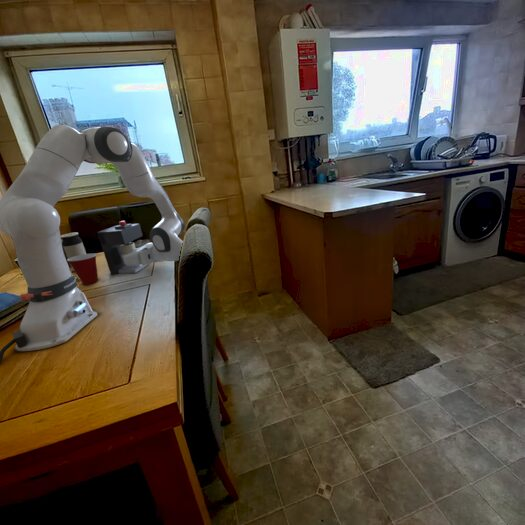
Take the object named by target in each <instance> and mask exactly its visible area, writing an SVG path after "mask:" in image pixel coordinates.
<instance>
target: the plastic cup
mask: <svg viewBox="0 0 525 525" xmlns="http://www.w3.org/2000/svg"><path fill="white" fill-rule="evenodd" d="M97 254H98V253H86V254H84V255H79V256H75V257H71V258H69V259H67V261H69V263H70V264H71V266H72V267H73V269H74V270H75V271H74V272H75V274H76V276H77V277H78V279H79V280H80V282H81V283H82V284H83V285H84V286H85V285H91V284H95V283H97V282H98V281H99V277H98V268H97Z"/></svg>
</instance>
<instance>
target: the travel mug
mask: <svg viewBox="0 0 525 525" xmlns="http://www.w3.org/2000/svg"><path fill="white" fill-rule="evenodd" d="M61 240H63V241H62V244H63V247H64V250H65V252H66V255H67V257H68V259H69V258H71V257H75V256H79V255H84V254H87V252H86V248H85V246H84V243H83V241H82V238H81V237H80V236H79V232H69V233H64V234H62V235H61ZM70 265H71V264H70ZM70 268H71V272H75V270H74V269H73V267H72V266H71V267H70Z"/></svg>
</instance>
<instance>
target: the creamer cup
mask: <svg viewBox="0 0 525 525" xmlns="http://www.w3.org/2000/svg"><path fill="white" fill-rule="evenodd" d="M134 243H135V242H133V241H131V242H129V243H127V244H122V245H120V248H121V251H122V254H128V253H130V252H132V251H134V250H136V248H135V244H134ZM126 266H133V265H127V264H126Z"/></svg>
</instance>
